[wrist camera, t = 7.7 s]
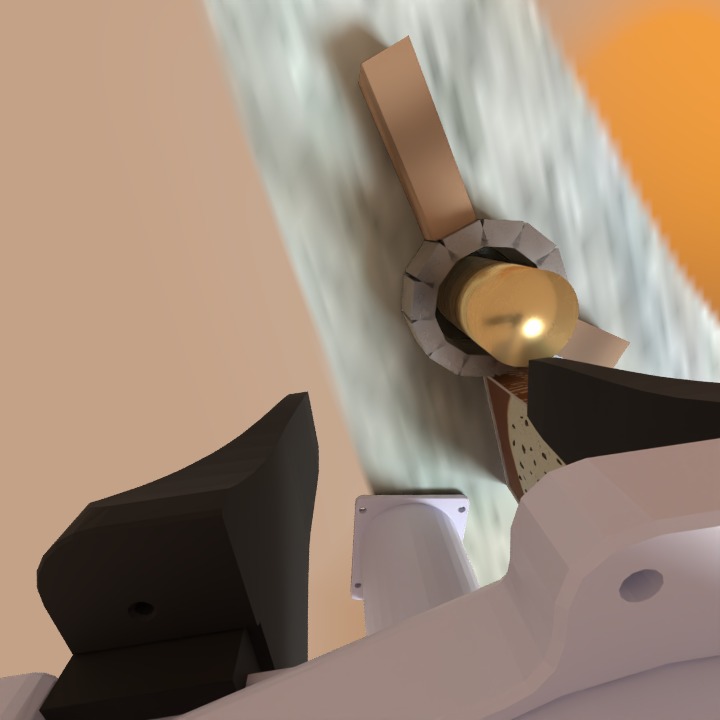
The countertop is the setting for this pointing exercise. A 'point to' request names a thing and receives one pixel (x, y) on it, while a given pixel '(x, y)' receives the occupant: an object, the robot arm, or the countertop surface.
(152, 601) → the robot arm
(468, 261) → the peg
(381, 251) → the countertop surface
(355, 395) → the countertop surface
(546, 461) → the food container
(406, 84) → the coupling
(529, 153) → the countertop surface
